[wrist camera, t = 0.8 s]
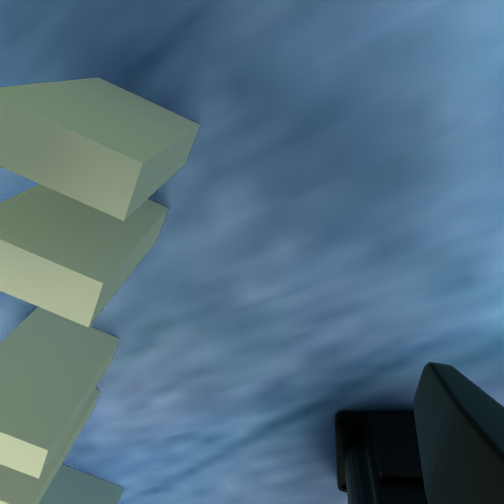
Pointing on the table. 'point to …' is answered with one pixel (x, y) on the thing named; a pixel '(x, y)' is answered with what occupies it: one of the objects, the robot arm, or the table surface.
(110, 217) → the domino
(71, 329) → the domino
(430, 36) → the table surface
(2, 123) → the domino
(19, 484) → the domino
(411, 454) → the robot arm
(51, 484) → the domino
